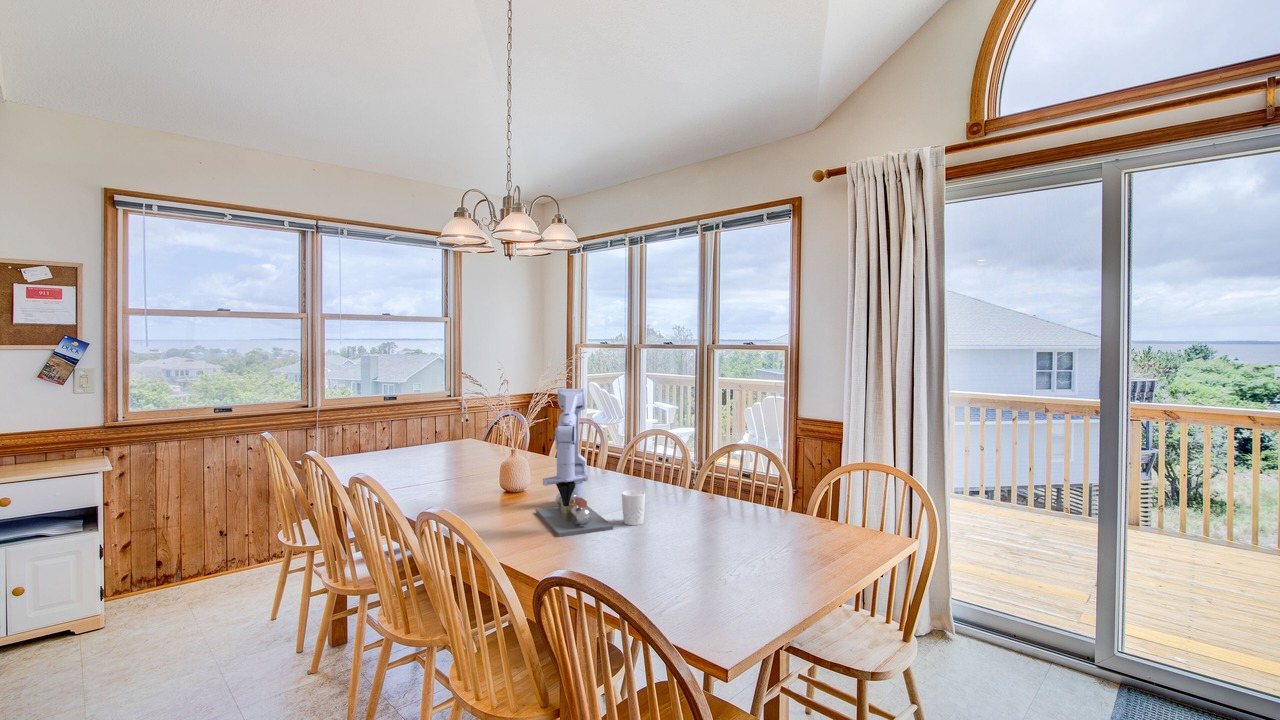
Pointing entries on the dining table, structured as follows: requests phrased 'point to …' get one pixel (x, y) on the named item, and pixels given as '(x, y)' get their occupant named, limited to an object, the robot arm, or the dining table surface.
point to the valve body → (573, 512)
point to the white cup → (633, 507)
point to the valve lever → (579, 501)
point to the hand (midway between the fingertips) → (565, 505)
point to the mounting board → (566, 527)
